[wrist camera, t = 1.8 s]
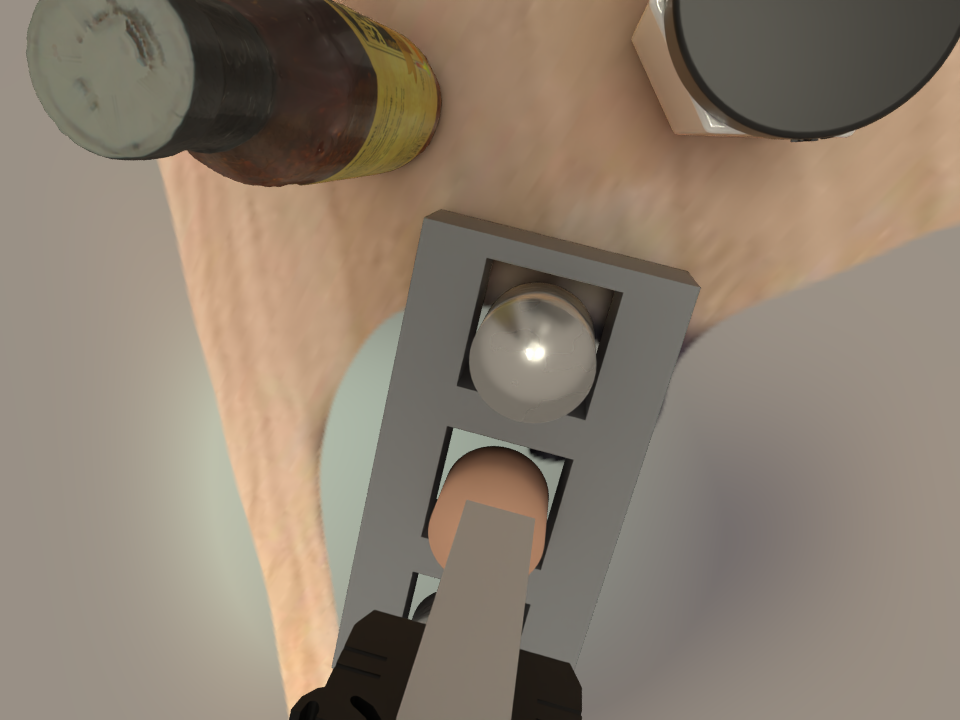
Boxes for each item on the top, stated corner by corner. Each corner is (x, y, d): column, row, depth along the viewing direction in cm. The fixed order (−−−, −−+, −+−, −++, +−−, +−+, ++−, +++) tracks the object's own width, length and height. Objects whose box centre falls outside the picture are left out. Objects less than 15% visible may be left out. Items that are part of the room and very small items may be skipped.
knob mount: (441, 209, 36) (423, 217, 32) (687, 271, 35) (700, 287, 31) (353, 621, 43) (331, 667, 39) (556, 679, 42) (553, 732, 38)
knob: (496, 270, 32) (484, 287, 29) (608, 298, 32) (611, 319, 28) (471, 375, 34) (457, 405, 30) (577, 403, 34) (577, 437, 30)
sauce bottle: (449, 34, 33) (275, -102, 14) (441, 177, 35) (278, 223, 16) (308, 26, 34) (-35, -115, 15) (307, 167, 36) (1, 198, 17)
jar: (750, 184, 33) (837, 207, 22) (598, 83, 33) (607, 54, 22) (888, -5, 31) (1069, -89, 19) (724, -117, 30) (810, -271, 19)
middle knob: (456, 434, 35) (441, 470, 31) (560, 462, 35) (558, 501, 31) (434, 525, 36) (417, 570, 33) (533, 553, 36) (528, 601, 32)
